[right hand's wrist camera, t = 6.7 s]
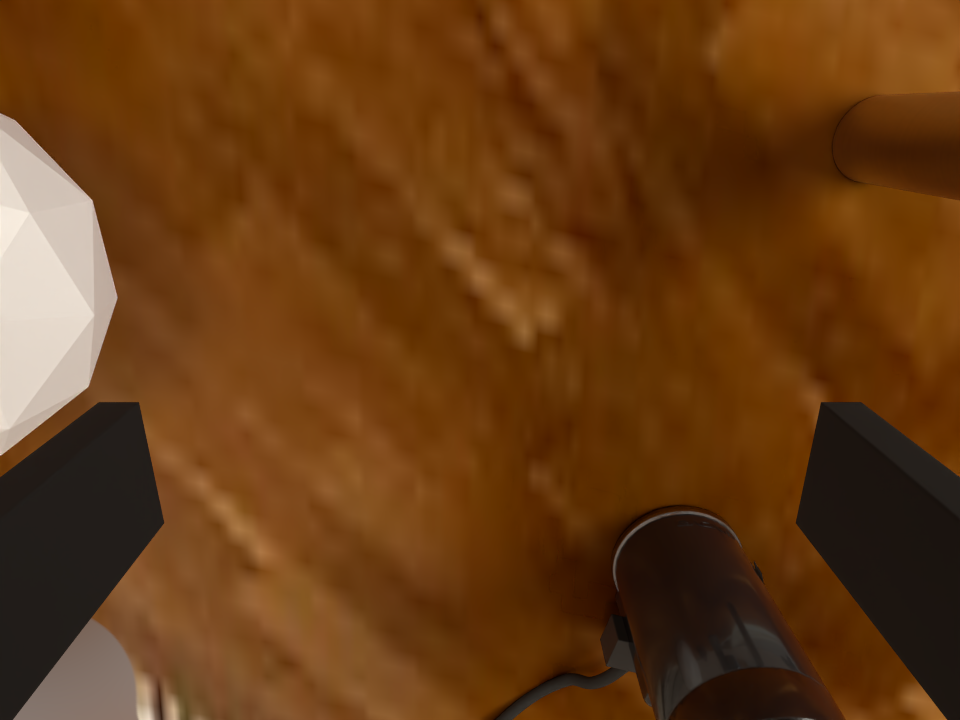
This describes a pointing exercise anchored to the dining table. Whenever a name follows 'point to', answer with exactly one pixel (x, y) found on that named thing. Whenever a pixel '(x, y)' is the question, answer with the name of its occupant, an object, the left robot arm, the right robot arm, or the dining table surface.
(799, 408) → the dining table surface
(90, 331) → the sphere
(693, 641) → the left robot arm
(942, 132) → the bottle
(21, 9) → the dining table surface
